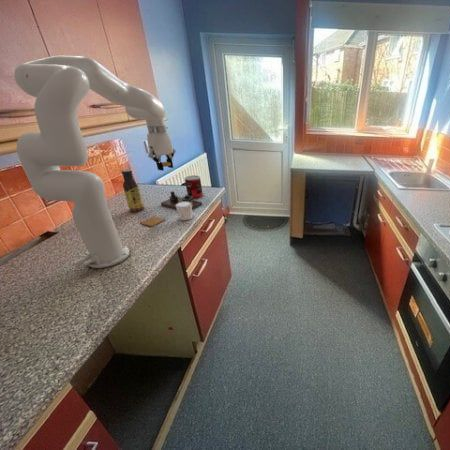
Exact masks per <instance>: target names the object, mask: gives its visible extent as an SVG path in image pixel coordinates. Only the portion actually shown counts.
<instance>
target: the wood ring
mask: <svg viewBox="0 0 450 450" xmlns="http://www.w3.org/2000/svg"><path fill="white" fill-rule="evenodd" d="M181 198H182V201H186V202H187V201H191V200H194V198H193V197H192V196H189V199H186V198H185V196H183V197H181Z"/></svg>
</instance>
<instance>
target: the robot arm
mask: <svg viewBox="0 0 450 450" xmlns="http://www.w3.org/2000/svg"><path fill="white" fill-rule="evenodd" d="M13 73H14V74H13V77H14V80H15V83H16V85H17V86H18V87H19V88H20V90H22V91H23V92H24V93H26V94H27V95H29V96H31V97H32V98H33V97H34V98H35V102H34V105H33V106H34V109H33V110H34V111H33V112H34V117H35V119H36V123H37V125H38V129H39V131H27V132H25V133H24V132H23V134H21V135H20V136H19V137H18V138H17V140H16V154H17V156H18V159H19V161H20V164H21V166H22V168H23V171H24V173H25V175H26V177H27V179H28V182H29V184H30V186H31V188H32V190H33V191H34V192H35V194H36V195H37V196H38V197H40V198H41V199H43V200H47V201H53V202H70V203H73V209H72V213H71V214H72V220H73V222H74V224H75V226H76V229H77V230H78V232H79V234H80V237H81V239H82V242H83V244H84V246H85V248H86V251H85V252H84V255H83V256H82V257H81V258H79V259H77V260H75V261H73V262H72V264H73V266H74V267H76V268H78V267H80V266H81V265H83V266H84V267H87V266H88V267H90V268H93V269H94V268H95V269H103V268H109V267H112V266H115V265H117V264H120V263H122V262H123V261H125V260H126V259H127V258H128V257H129V256H130V253H131V251H130V249H129V247H128V246H125V245H123V244H122V241H121V238H120V235H119V232H118V230H117V227H116V225H115V221H114V219H113V216H112V214H111V211H110V208H109V205H108V201H107V197H106V189H105V184H104V181H103V179H102V178H101V177H100V176H99V175H97V174H96V173H94V172H91V171H87V170H76V169H75V170H73V169H61V167H66V168H67V167H69V168H70V167H72V168H73V167H80V166H84V165H85V164H87V162H88V161H89V154H88V153H89V152H88V150H87V146H86V144H85V143H86V142H85V139H84V136H83V133H82V130H81V127H80V124H79V120H78V119H79V118H78V109H79V106H80V104H81V103H82V101H83V100H84V99H85V97H86V96H87V95H88V93H89V91H90V90H91V91H93V92H94V93H96V94H98V95H99V96H100V97H102V98H103V99H106V100H107V101H109V102H110V103H113V104H116V105H118V106H123V107H124V110H125V112H126V114H127V115H128V116H129V117H130V118H132V119H135V120H145V122H146V123H145V124H146V128H147V132H148V133H147V134H146V139H147V140H146V141H147V142H146V143H147V148H148V155H147V157H148V158H149V159H150V160H153V161H154V162H155V163H156V168H157V170H158V171H165V170H164V167H163V164H162V162H163V161H162V156H165V157H166V160H165V162H170V163H171V165H170V166H167V168H169V169H174V163H173V159H174V158H173V157H174V156H175V154H176V152H177V151H176V149H175V148H174V147H173V143H172V140H171V137H170V134H169V132H168V131H167V130H168V126H167V125H166V120H165V115H166V110H165V106H164V105H163V103H162V102H161V101H160V100H159V99H158V98H157V97H156V96H155V95H153V94H152V93H150V92H149V91H148V90H147V91H146V90H144V89H142V88H140V87H137V86H135V85H134V84H133V85H132V84H130V83H128V82H125V81H123V80H121V79H120V78H119V77H117V76H116V75H115V74H114V73H113V72H111V71H110V70H108V68H106V67H105V66H104V65H102V64H100V63H99V62H98V61H97V60H95V59H94V58H91V57H89V56H84V55H61V54H60V55H59V54H58V55H52V56H48V57H43V58H40V59H35V60H32V61H27V62H23V63H20V64H19V65H17V66H16V68H15V69H14V71H13Z"/></svg>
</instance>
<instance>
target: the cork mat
mask: <svg viewBox="0 0 450 450" xmlns="http://www.w3.org/2000/svg"><path fill="white" fill-rule="evenodd" d="M163 222H165V219H164V218H161V217H157V216H152V217H149V218H147V219H145V220H143V221H140V224H142V225H144V226H147V227H154V226H156V225H158V224H160V223H163Z"/></svg>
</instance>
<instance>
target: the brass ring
mask: <svg viewBox="0 0 450 450" xmlns="http://www.w3.org/2000/svg"><path fill="white" fill-rule="evenodd" d="M161 162H162V164H163V168H164V167H168V166H170V165H171V163H170V162H167V161H161Z"/></svg>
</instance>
